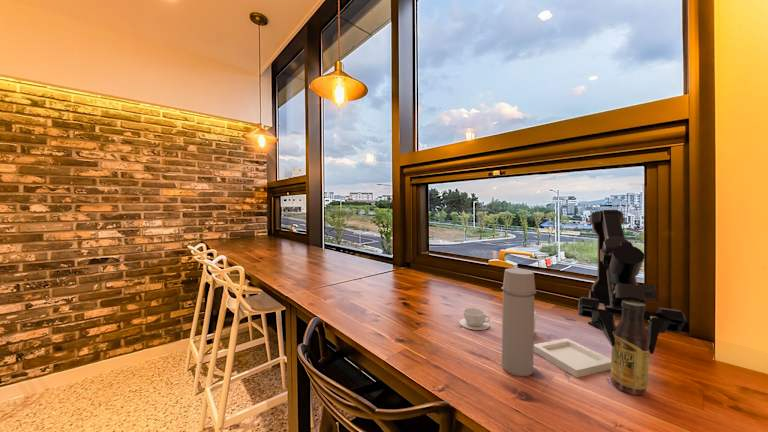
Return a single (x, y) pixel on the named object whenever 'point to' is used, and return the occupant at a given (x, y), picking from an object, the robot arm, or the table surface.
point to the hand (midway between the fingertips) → (631, 349)
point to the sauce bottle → (631, 349)
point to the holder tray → (572, 357)
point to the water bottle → (518, 321)
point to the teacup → (475, 319)
